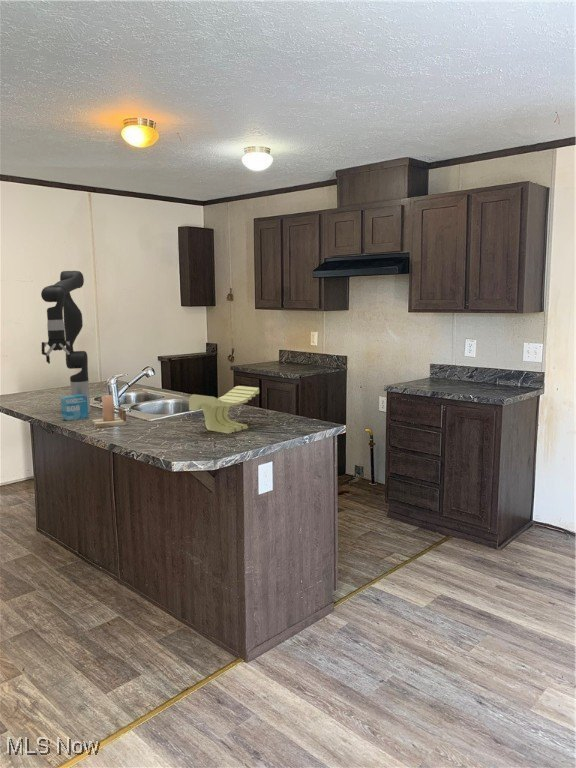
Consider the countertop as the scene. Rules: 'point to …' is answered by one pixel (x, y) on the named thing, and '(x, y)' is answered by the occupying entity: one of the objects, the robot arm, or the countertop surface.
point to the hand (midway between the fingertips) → (58, 362)
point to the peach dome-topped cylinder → (108, 408)
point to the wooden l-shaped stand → (117, 421)
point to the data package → (74, 407)
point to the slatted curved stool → (222, 408)
